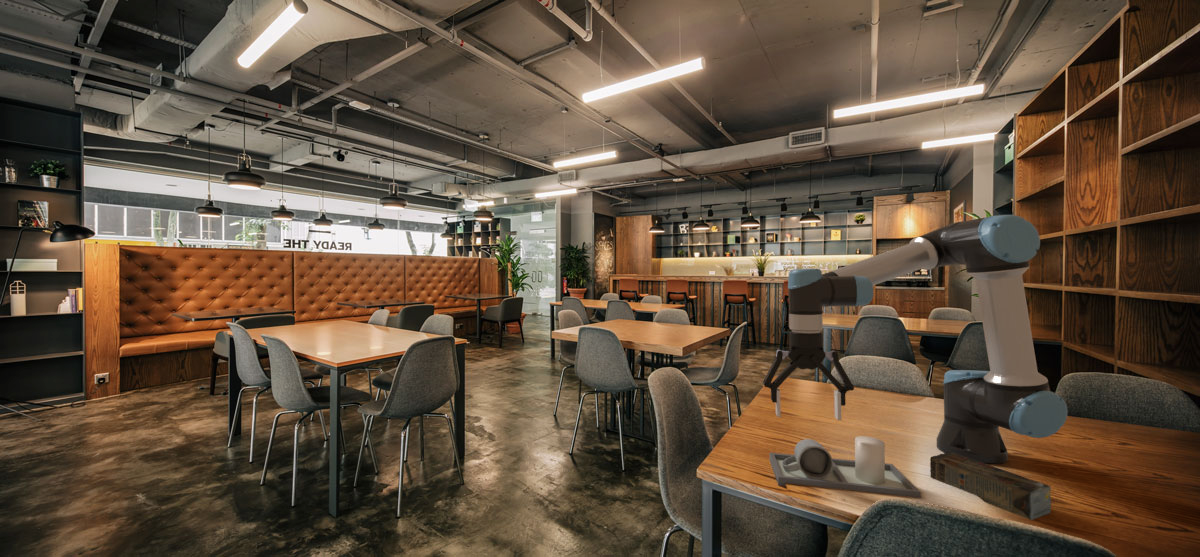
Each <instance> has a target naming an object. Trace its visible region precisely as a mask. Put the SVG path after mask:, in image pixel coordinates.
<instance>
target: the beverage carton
mask: <svg viewBox="0 0 1200 557" xmlns="http://www.w3.org/2000/svg"><path fill="white" fill-rule="evenodd" d="M929 461H930V463H929V467H930V468H929V469H930V478H931V479H933V480H936V481H938V482H941V483H943V484H945V485H948V486H951V487H953V488H956V489H958V490H961V491H964V492H966V493H969V494H971V495H973V496H977V498H979V499H981V501H983V502H984V503H986V504H989V505H992V506H994V507H997V508H999V509H1002V510H1004V511H1005V512H1006V511H1007V512H1010V513H1012V514H1014V515H1017V516H1019V517H1021V518H1025V519H1027V520H1029V521H1033V520H1035V519H1038V518H1041V517H1043V516H1046V515H1049V514H1050V513H1051V512H1052V511H1051V508H1052V507H1051V506H1052V499H1051V494H1052V492H1051V491H1052V490H1051V489H1052V488H1051V486H1050V485H1048V484H1046V483H1042V482H1040V481H1037V480H1033V479H1030V478H1027V477H1025V476H1022V475H1020V474H1016V473H1013V472H1011V471H1007V470H1005V469H1002V468H999V467H996V466H993V465H990V464H989V463H982V462H979V461H976V460H973V459H970V458H967V457H964V456H961V455H958V454H955V453H951V452H947V453H945V452H943V453H940V454H937V455H933V456H931V457H930V459H929Z"/></svg>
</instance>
